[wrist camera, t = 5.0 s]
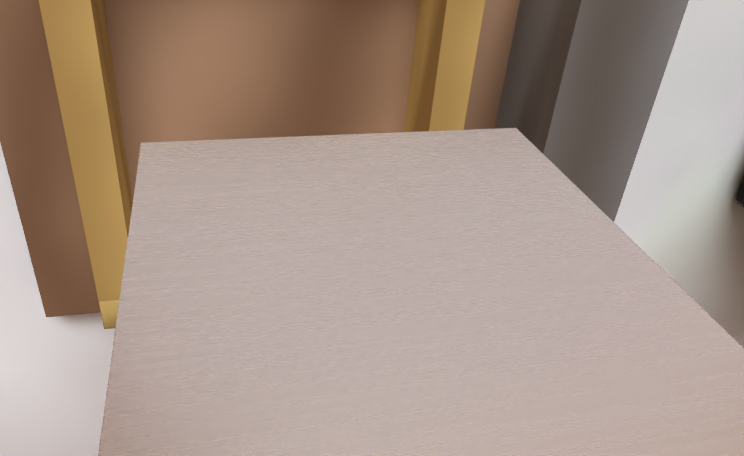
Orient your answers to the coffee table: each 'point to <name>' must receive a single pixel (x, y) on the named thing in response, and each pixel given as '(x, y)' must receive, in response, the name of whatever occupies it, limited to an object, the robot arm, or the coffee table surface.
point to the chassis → (299, 96)
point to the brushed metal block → (401, 309)
